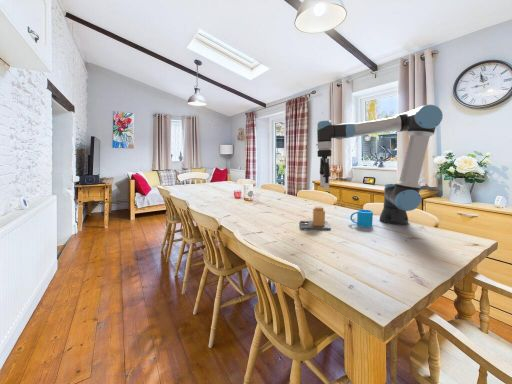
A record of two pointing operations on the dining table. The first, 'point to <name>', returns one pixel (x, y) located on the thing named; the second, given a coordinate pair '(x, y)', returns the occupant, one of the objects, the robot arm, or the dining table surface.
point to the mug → (363, 218)
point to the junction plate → (309, 226)
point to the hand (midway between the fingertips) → (324, 187)
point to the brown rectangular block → (318, 216)
